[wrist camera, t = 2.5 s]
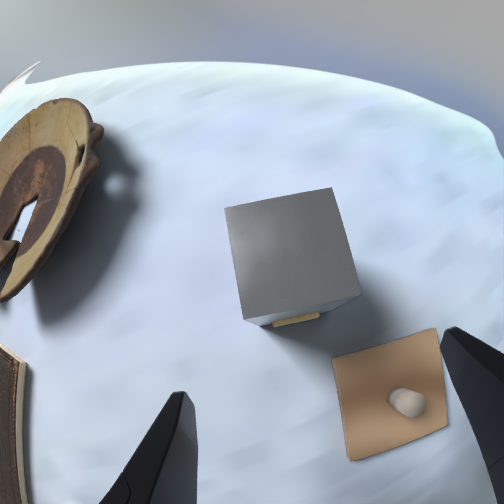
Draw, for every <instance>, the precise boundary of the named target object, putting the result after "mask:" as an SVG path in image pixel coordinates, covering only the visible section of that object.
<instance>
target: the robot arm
mask: <svg viewBox="0 0 504 504" xmlns="http://www.w3.org/2000/svg"><path fill="white" fill-rule="evenodd" d="M440 349H441V353H442V355H443V358H444V361H445V363H446V366H447V369H448V372H449V375H450V377H451V380H452V383H453V385H454V388H455V390H456V392H457V394H458V396H459V399H460V401H461V403H462V405H463V408H464V410H465V412H466V415H467V417H468V419H469V422H470V424H471V426H472V429H473V431H474V434H475V436H476V439H477V442H478V444H479V447H480V450H481V452H482V455H483V458H484V461H485V464H486V467H487V469H488V473H489V476H490V479H491V482H492V486H493V489H494V492H495V496H496V499H497V503H498V504H504V354H503V353H501V352H500V351H498V350H496V349H495V348H493V347H491V346H489V345H488V344H486V343H484V342H483V341H481V340H479V339H477V338H476V337H474V336H472V335H470V334H469V333H467V332H465V331H463V330H462V329H460V328H458V327H455V326H454V327H451V328H448V329H446V330H445V332H444V335H443V338H442V341H441V344H440ZM197 467H198V441H197V430H196V417H195V407H194V404H193V402H192V401H191V399H190V398H189V396H188V395H187V393H186V392H185V391H178V392H173V393H172V394H171V396H170V397H169V399H168V400H167V402H166V404H165V405H164V407H163V408H162V410H161V412H160V413H159V415H158V416H157V418H156V419H155V421H154V423H153V424H152V426H151V427H150V429H149V430H148V432H147V434H146V435H145V437H144V438H143V440H142V441H141V443H140V445H139V446H138V448H137V449H136V451H135V452H134V454H133V456H132V457H131V459H130V460H129V462H128V463H127V465H126V466H125V468H124V470H123V472H122V473H121V474H120V476H119V477H118V479H117V480H116V482H115V483H114V485H113V486H112V488H111V489H110V490H109V492H108V493H107V494H106V495H105V497H104V498H103V499H102V500H101V502H100V503H99V504H197Z"/></svg>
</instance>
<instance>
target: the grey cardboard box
mask: <svg viewBox="0 0 504 504" xmlns="http://www.w3.org/2000/svg"><path fill="white" fill-rule="evenodd" d="M224 209H225V215H226V221H227V227H228V233H229V239H230V245H231V251H232V257H233V263H234V269H235V274H236V280H237V286H238V291H239V297H240V303H241V308H242V314H243V319H244V320H246V321H248V322H250V323H253V324H255V325H257V326H263V325H268V324H273V327H278V326H283V325H288V324H292V323H297V322H302V321H306V320H311V319H315V318H318V317H320V316H319V314H320V313H324V312H329V311H330V310H332V309H334V308H336V307H338V306H340V305H342V304H344V303H346V302H348V301H350V300H351V299H353V298H355V297H357V296H359V295H361V289H360V285H359V281H358V277H357V273H356V269H355V265H354V261H353V258H352V254H351V250H350V247H349V243H348V239H347V236H346V232H345V229H344V226H343V222H342V219H341V216H340V212H339V209H338V206H337V203H336V199H335V196H334V193H333V190H332V187H331V188H325V189H320V190H314V191H308V192H303V193H298V194H292V195H287V196H282V197H277V198H271V199H266V200H261V201H256V202H252V203H247V204H242V205H237V206H232V207H228V208H224Z"/></svg>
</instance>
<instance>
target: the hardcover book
mask: <svg viewBox="0 0 504 504" xmlns="http://www.w3.org/2000/svg"><path fill="white" fill-rule="evenodd" d="M26 365H27V363H26V362H25V361H24V360H22V359H21V358H19V357H18V356H17V355H15V354H14V353H12V352H11V351H10V350H8V349H7V348H6V347H5V346H3V345H2V344H1V343H0V501H1V502H2V503H3V504H28V503H27V495H26V487H25V478H24V465H23V441H22V423H23V398H24V385H25V374H26Z"/></svg>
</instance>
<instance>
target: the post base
mask: <svg viewBox="0 0 504 504" xmlns="http://www.w3.org/2000/svg"><path fill="white" fill-rule="evenodd" d="M331 360H332V365H333V370H334V376H335V382H336V387H337V393H338V399H339V405H340V411H341V417H342V424H343V430H344V437H345V444H346V451H347V457H348V458H349V460H350V462H351V461H355V460H358V459H362V458H365V457H368V456H371V455H374V454H378V453H381V452H383V451H386V450H389V449H392V448H395V447H398V446H400V445H403V444H405V443H408V442H410V441H413V440H415V439H418V438H420V437H423V436H425V435H427V434H430V433H432V432H434V431H436V430H438V429H440V428H443V427H445V426H447V408H446V396H445V386H444V377H443V369H442V362H441V355H440V349H439V343H438V337H437V331H436V328H431V329H427V330H424V331H421V332H418V333H415V334H412V335H409V336H406V337H403V338H400V339H397V340H394V341H391V342H387V343H384V344H381V345H378V346H374V347H371V348H367V349H364V350H360V351H356V352H353V353H349V354H345V355H341V356H337V357H333V358H331Z"/></svg>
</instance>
